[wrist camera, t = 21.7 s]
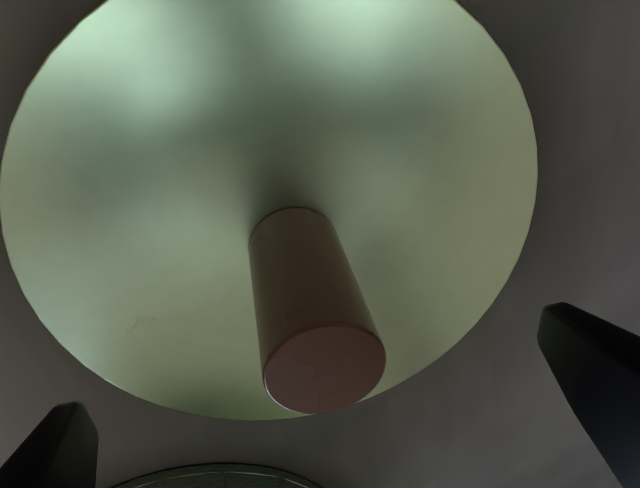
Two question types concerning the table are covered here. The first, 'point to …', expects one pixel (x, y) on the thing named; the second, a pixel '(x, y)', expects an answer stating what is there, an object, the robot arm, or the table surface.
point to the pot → (220, 478)
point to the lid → (267, 196)
